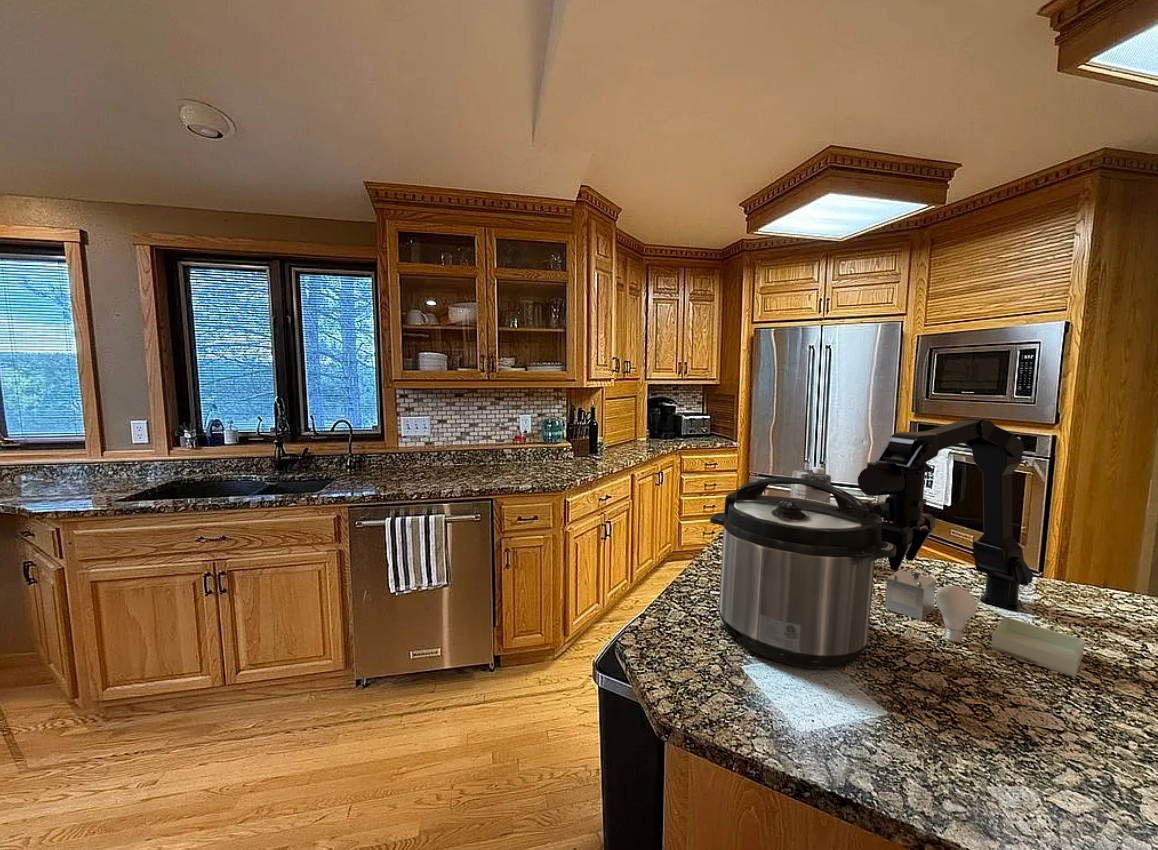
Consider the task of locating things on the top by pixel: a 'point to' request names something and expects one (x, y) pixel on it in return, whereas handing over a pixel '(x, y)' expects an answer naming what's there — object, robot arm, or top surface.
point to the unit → (910, 594)
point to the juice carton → (809, 492)
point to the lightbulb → (955, 610)
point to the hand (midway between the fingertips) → (902, 565)
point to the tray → (1039, 646)
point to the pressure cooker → (799, 573)
